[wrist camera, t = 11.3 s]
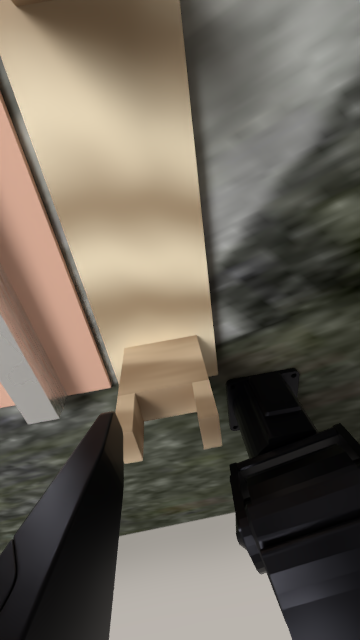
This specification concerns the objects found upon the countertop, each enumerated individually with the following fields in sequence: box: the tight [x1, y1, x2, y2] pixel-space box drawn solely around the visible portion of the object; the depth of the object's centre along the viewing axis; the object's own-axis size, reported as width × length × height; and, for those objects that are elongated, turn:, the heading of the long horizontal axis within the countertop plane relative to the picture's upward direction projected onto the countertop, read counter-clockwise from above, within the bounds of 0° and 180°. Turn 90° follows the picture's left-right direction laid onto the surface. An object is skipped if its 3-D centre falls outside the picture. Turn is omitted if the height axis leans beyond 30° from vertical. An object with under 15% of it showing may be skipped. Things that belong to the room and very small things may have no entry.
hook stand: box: [0, 0, 222, 464], centre depth 13 cm, size 26×8×9 cm, turn 9°
